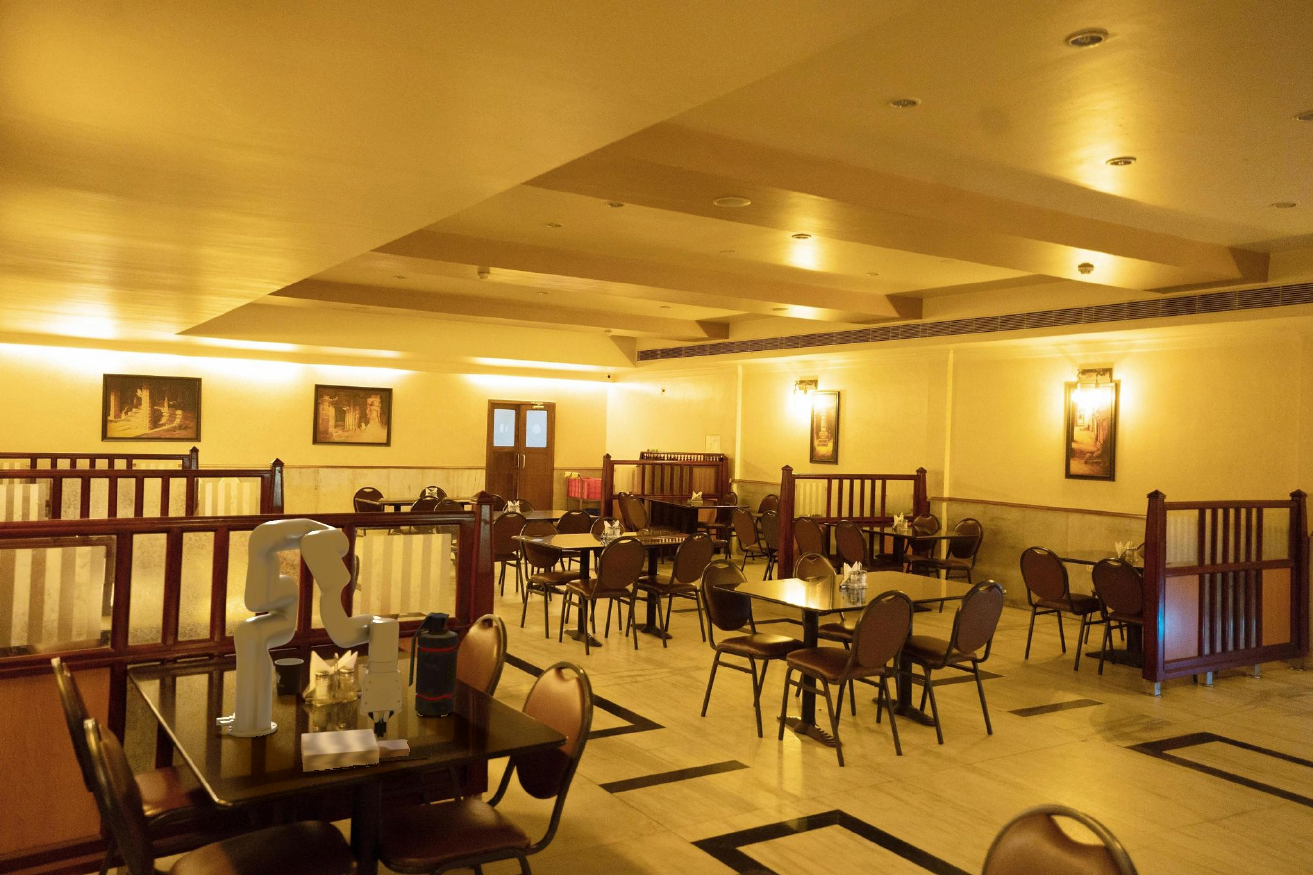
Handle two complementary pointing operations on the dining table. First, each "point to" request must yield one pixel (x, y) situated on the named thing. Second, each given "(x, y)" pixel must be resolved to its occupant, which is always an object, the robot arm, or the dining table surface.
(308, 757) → the block
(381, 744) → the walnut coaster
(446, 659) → the grenade
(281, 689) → the coffee mug
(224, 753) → the dining table surface
